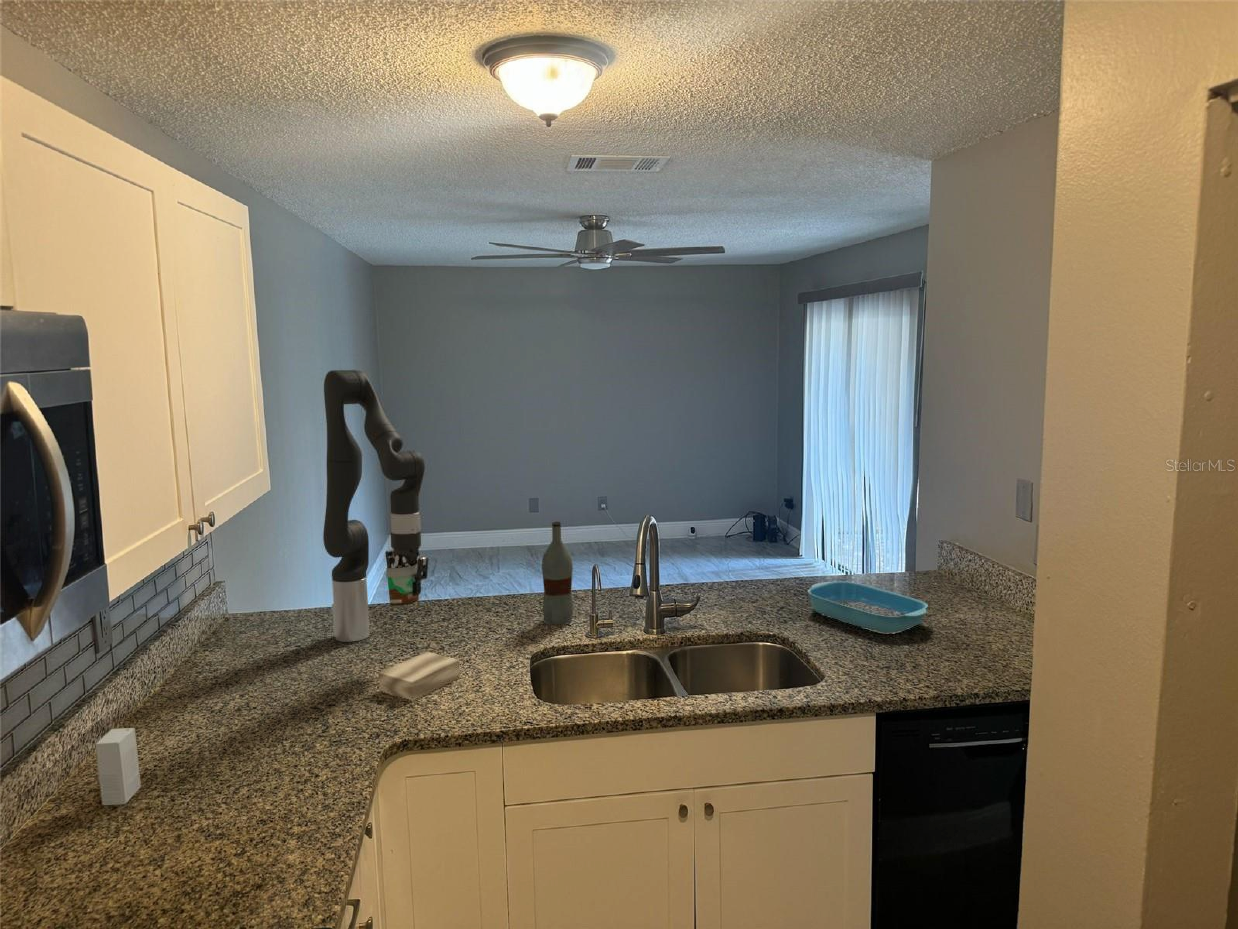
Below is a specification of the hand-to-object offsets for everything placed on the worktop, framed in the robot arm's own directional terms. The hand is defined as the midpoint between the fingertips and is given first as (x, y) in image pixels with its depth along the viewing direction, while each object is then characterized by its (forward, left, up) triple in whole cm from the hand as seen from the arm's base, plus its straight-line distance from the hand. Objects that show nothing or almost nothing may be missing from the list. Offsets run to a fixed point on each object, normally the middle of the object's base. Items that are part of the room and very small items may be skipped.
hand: (407, 592), depth 216 cm
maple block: (+14, -9, -19) cm, 25 cm away
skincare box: (+7, -75, -19) cm, 78 cm away
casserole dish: (+87, +99, -19) cm, 133 cm away
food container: (+1, 0, -2) cm, 3 cm away
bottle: (+12, +46, -19) cm, 51 cm away
